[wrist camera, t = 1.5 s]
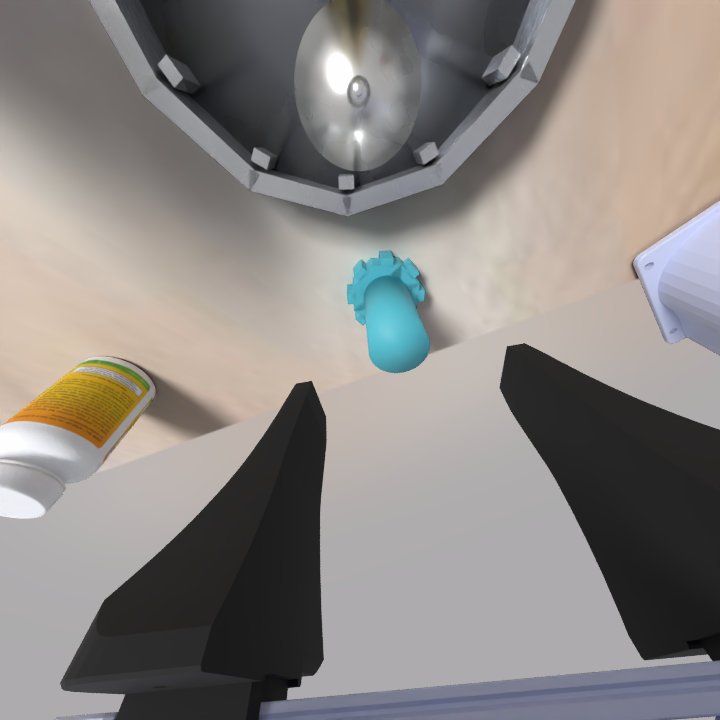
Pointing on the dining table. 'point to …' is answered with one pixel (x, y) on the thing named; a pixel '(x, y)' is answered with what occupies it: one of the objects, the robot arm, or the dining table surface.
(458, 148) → the bowl
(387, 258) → the gear
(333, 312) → the dining table surface
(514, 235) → the dining table surface
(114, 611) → the robot arm
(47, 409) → the supplement bottle
